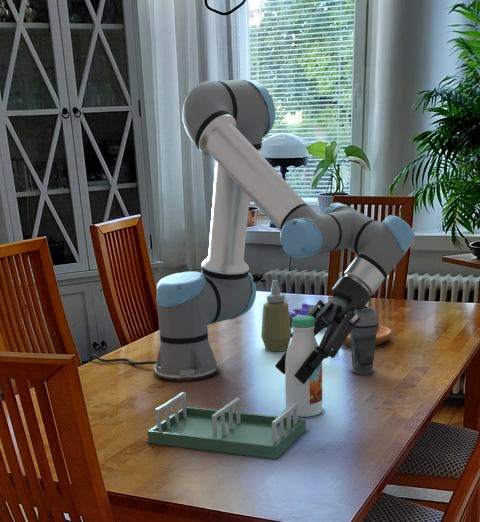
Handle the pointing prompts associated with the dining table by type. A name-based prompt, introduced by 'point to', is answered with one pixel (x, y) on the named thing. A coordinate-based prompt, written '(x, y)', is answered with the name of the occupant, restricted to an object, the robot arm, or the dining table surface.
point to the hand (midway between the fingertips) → (289, 374)
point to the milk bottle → (296, 355)
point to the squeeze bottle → (276, 321)
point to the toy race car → (301, 311)
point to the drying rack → (226, 429)
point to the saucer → (381, 335)
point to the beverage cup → (364, 341)
